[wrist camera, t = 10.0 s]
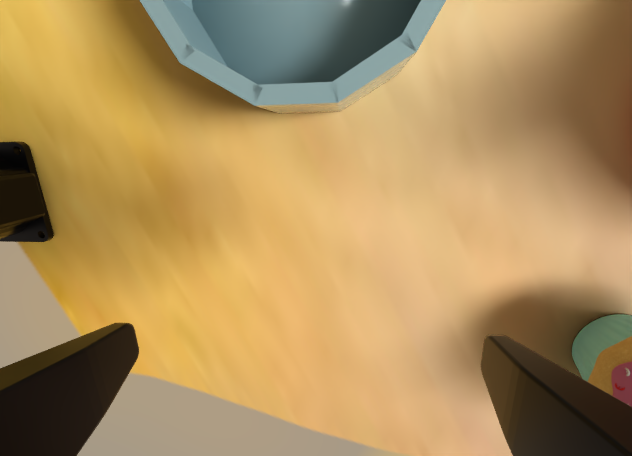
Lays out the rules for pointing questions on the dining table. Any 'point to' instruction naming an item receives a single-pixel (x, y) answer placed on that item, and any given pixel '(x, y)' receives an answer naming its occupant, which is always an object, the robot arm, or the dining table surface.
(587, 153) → the dining table surface
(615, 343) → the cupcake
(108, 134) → the dining table surface
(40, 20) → the dining table surface
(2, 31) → the dining table surface
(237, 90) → the bowl
